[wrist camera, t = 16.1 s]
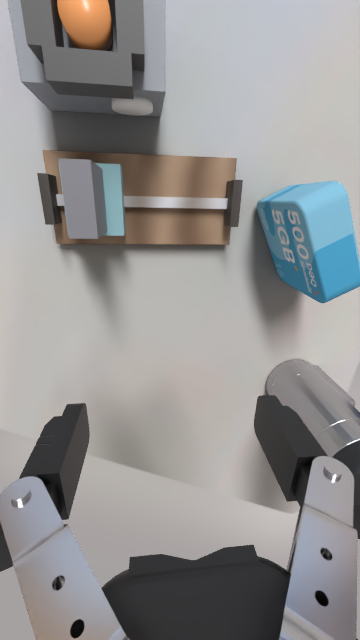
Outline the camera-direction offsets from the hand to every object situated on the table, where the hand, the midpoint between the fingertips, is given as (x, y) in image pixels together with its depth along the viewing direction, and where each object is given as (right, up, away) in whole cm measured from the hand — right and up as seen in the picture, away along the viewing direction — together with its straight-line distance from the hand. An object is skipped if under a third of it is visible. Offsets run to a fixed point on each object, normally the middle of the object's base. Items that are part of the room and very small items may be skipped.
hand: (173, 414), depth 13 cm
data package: (+15, +16, +26) cm, 34 cm away
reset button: (-7, +27, +9) cm, 30 cm away
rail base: (-4, +19, +22) cm, 30 cm away
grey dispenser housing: (-8, +31, +17) cm, 36 cm away
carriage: (-9, +18, +19) cm, 28 cm away
